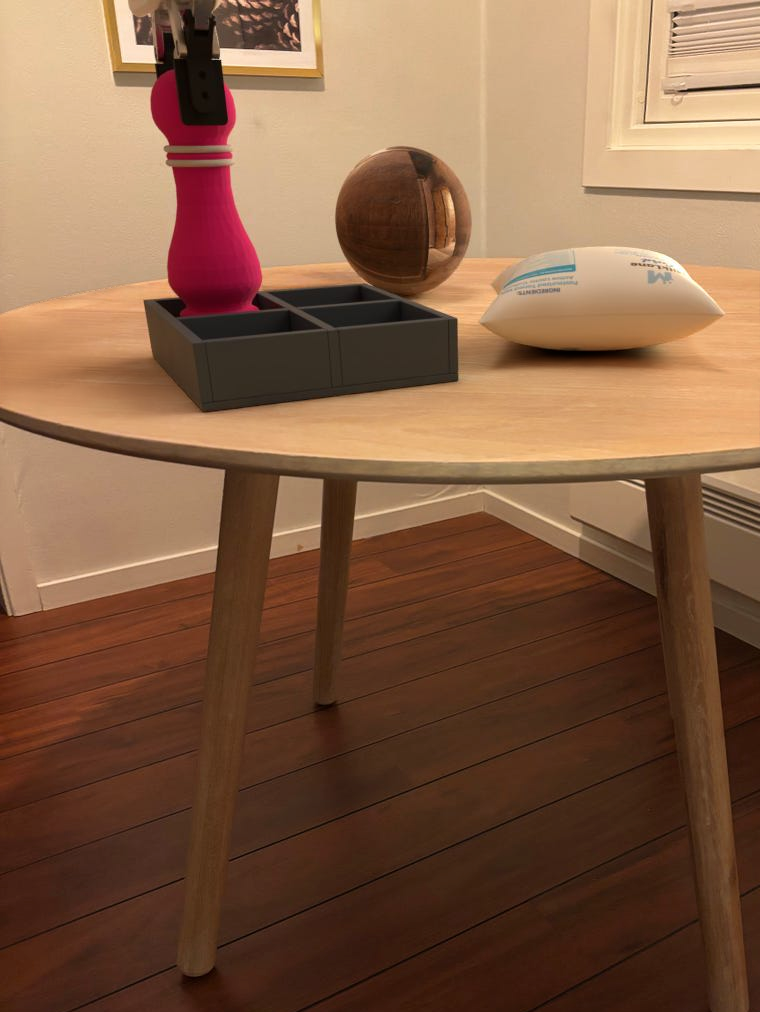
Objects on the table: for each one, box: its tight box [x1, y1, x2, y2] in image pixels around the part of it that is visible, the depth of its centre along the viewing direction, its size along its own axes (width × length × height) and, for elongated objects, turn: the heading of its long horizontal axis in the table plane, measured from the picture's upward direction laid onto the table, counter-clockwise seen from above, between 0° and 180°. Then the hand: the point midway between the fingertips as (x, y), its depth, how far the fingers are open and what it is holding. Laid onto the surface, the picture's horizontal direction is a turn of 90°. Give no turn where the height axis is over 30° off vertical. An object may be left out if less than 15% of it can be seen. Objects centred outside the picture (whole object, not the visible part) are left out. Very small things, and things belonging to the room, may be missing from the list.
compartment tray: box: [143, 282, 460, 413], centre depth 75 cm, size 19×19×5 cm
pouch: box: [477, 246, 726, 352], centre depth 82 cm, size 8×19×20 cm
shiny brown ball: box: [334, 145, 473, 296], centre depth 104 cm, size 15×15×15 cm
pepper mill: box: [149, 48, 263, 317], centre depth 72 cm, size 7×7×20 cm
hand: (194, 122), depth 69 cm, fingers closed on pepper mill, 6 cm apart
